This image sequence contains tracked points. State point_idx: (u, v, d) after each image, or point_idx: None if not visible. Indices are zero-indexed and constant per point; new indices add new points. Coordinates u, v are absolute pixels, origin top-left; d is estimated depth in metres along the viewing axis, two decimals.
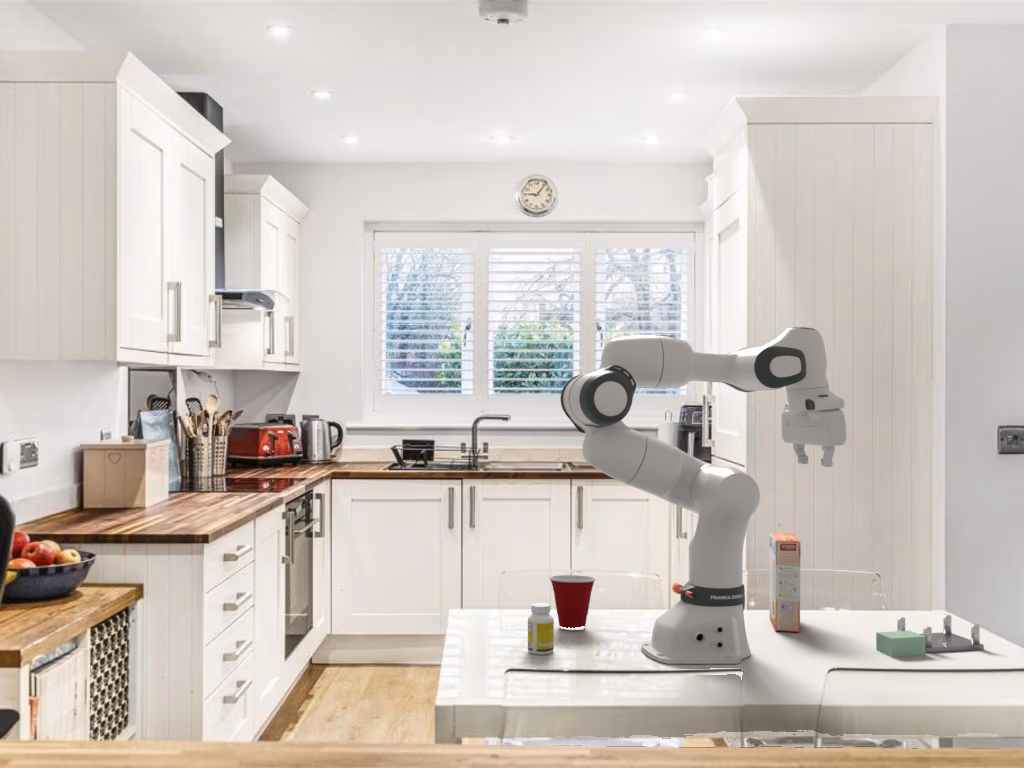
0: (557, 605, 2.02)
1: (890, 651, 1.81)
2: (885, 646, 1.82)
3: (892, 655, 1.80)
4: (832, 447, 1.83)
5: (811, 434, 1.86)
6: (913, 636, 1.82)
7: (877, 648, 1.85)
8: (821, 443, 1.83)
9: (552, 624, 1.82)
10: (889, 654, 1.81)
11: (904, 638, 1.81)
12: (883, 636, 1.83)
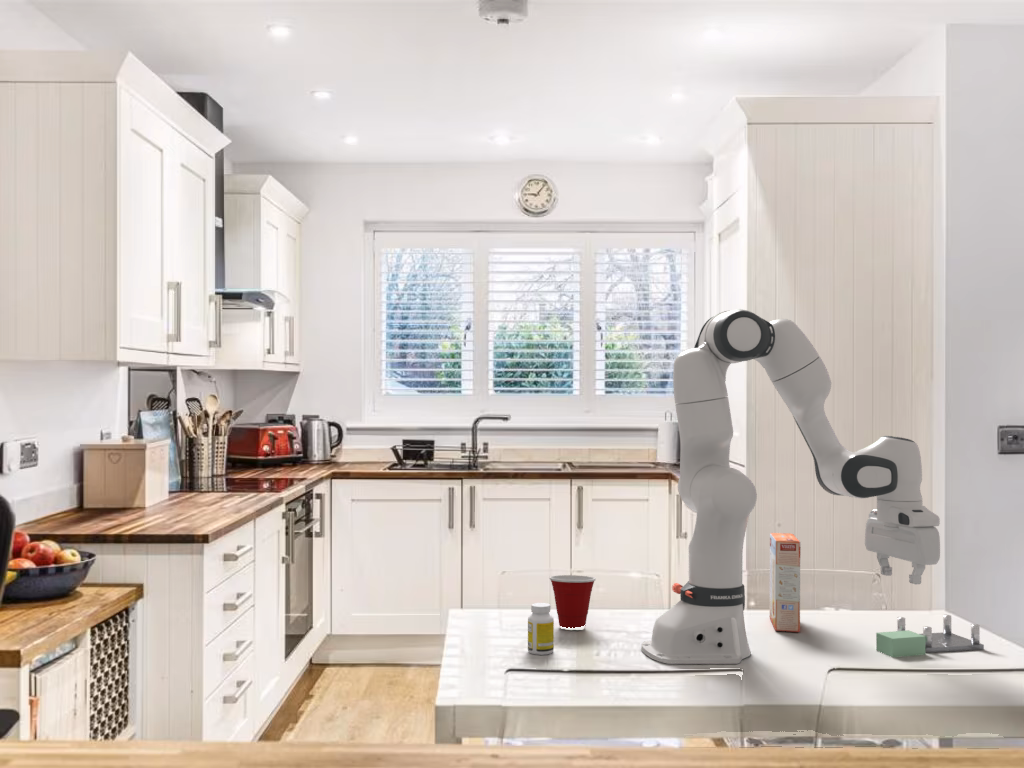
0: (557, 605, 2.02)
1: (891, 651, 1.80)
2: (885, 646, 1.82)
3: (893, 655, 1.80)
4: (923, 565, 1.78)
5: (900, 548, 1.81)
6: (913, 636, 1.82)
7: (878, 648, 1.84)
8: (912, 560, 1.78)
9: (552, 624, 1.82)
10: (890, 654, 1.81)
11: (905, 638, 1.81)
12: (883, 636, 1.83)
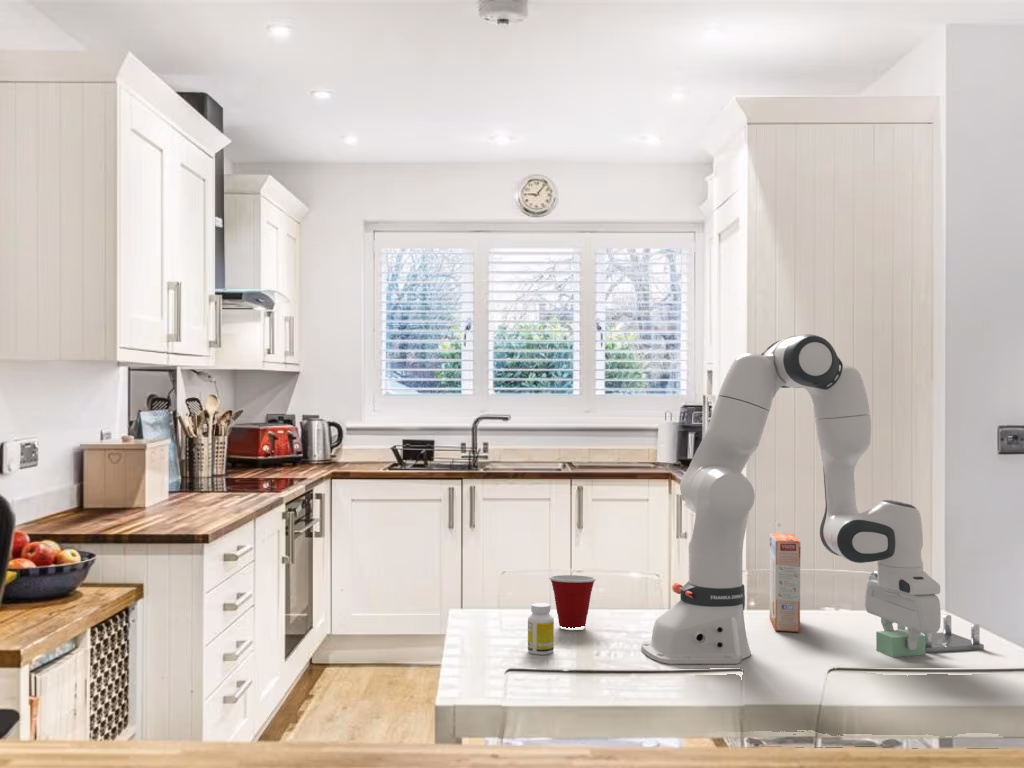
0: (557, 605, 2.02)
1: (891, 650, 1.80)
2: (885, 645, 1.82)
3: (893, 654, 1.80)
4: None
5: (901, 614, 1.81)
6: None
7: (878, 647, 1.85)
8: (912, 627, 1.77)
9: (552, 624, 1.82)
10: (890, 653, 1.81)
11: (905, 637, 1.81)
12: (884, 635, 1.83)
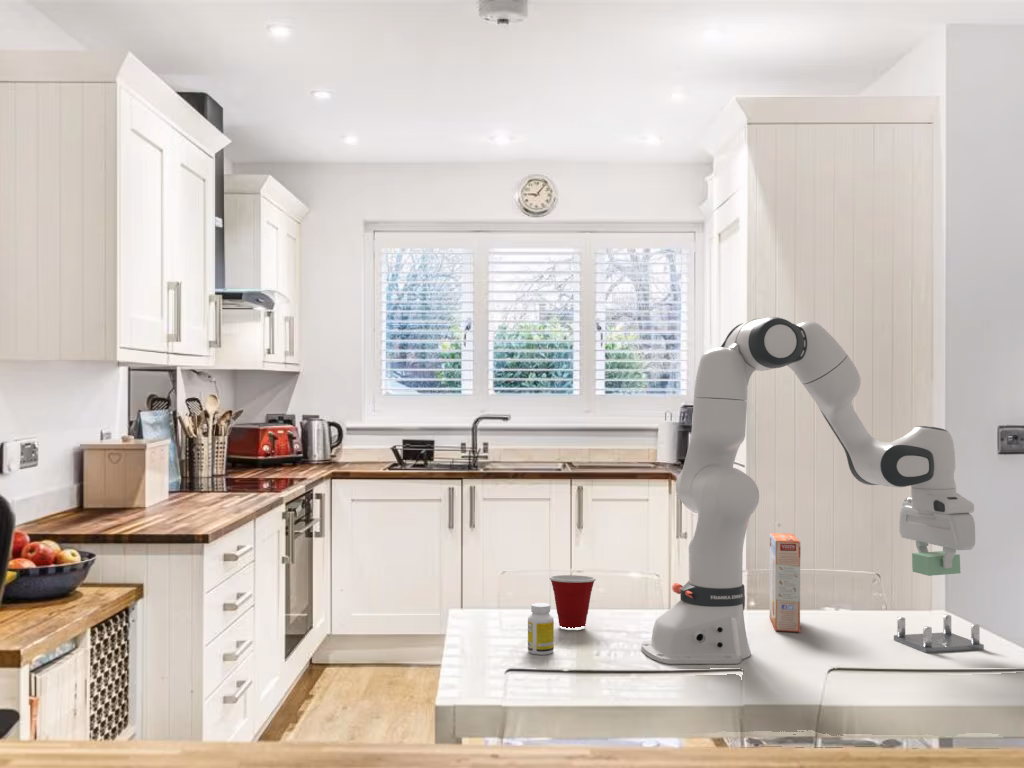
0: (557, 605, 2.02)
1: (927, 569, 1.86)
2: (921, 565, 1.88)
3: (929, 573, 1.86)
4: (953, 549, 1.85)
5: (936, 534, 1.87)
6: None
7: (914, 568, 1.91)
8: (948, 545, 1.83)
9: (552, 624, 1.82)
10: (926, 572, 1.87)
11: (940, 556, 1.87)
12: (919, 556, 1.89)
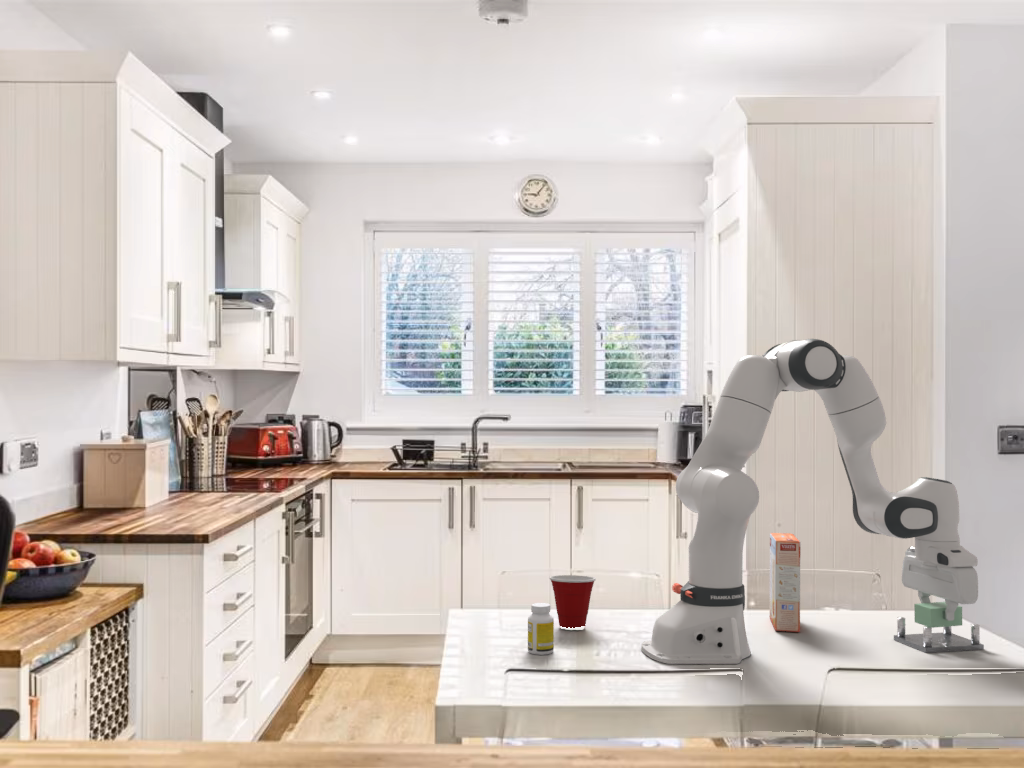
0: (557, 605, 2.02)
1: (929, 621, 1.87)
2: (924, 616, 1.89)
3: (931, 625, 1.87)
4: (956, 602, 1.85)
5: (939, 586, 1.87)
6: None
7: (916, 619, 1.91)
8: (951, 598, 1.84)
9: (552, 624, 1.82)
10: (929, 623, 1.87)
11: (942, 608, 1.88)
12: (922, 607, 1.89)
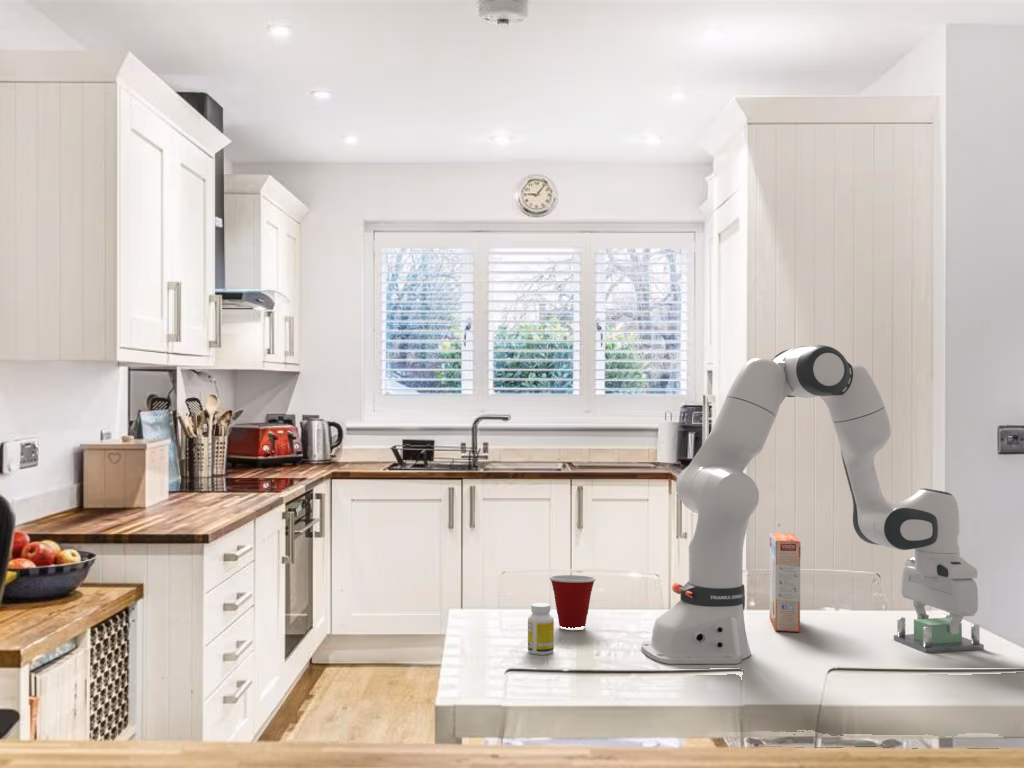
0: (557, 605, 2.02)
1: None
2: None
3: None
4: (960, 615, 1.84)
5: (938, 598, 1.87)
6: None
7: (915, 635, 1.91)
8: (950, 610, 1.84)
9: (552, 624, 1.82)
10: None
11: (942, 625, 1.88)
12: (921, 623, 1.89)
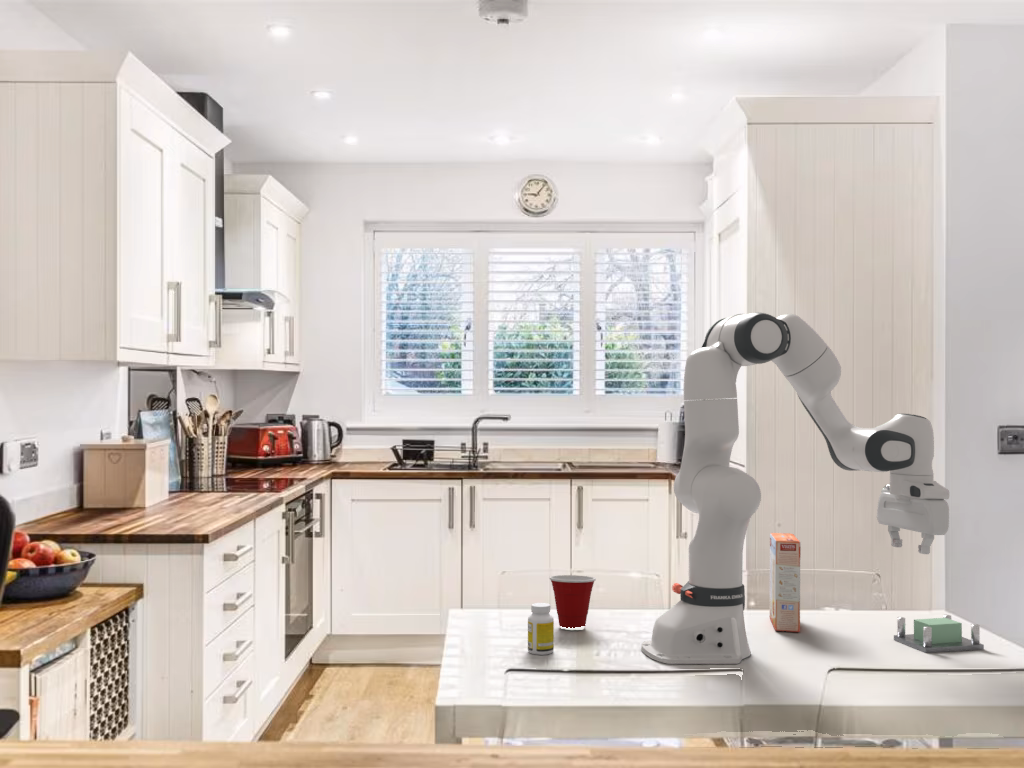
0: (557, 605, 2.02)
1: None
2: None
3: None
4: (932, 535, 1.87)
5: (911, 519, 1.91)
6: (950, 623, 1.89)
7: (915, 635, 1.91)
8: (922, 530, 1.87)
9: (552, 624, 1.82)
10: None
11: (942, 625, 1.88)
12: (921, 623, 1.89)
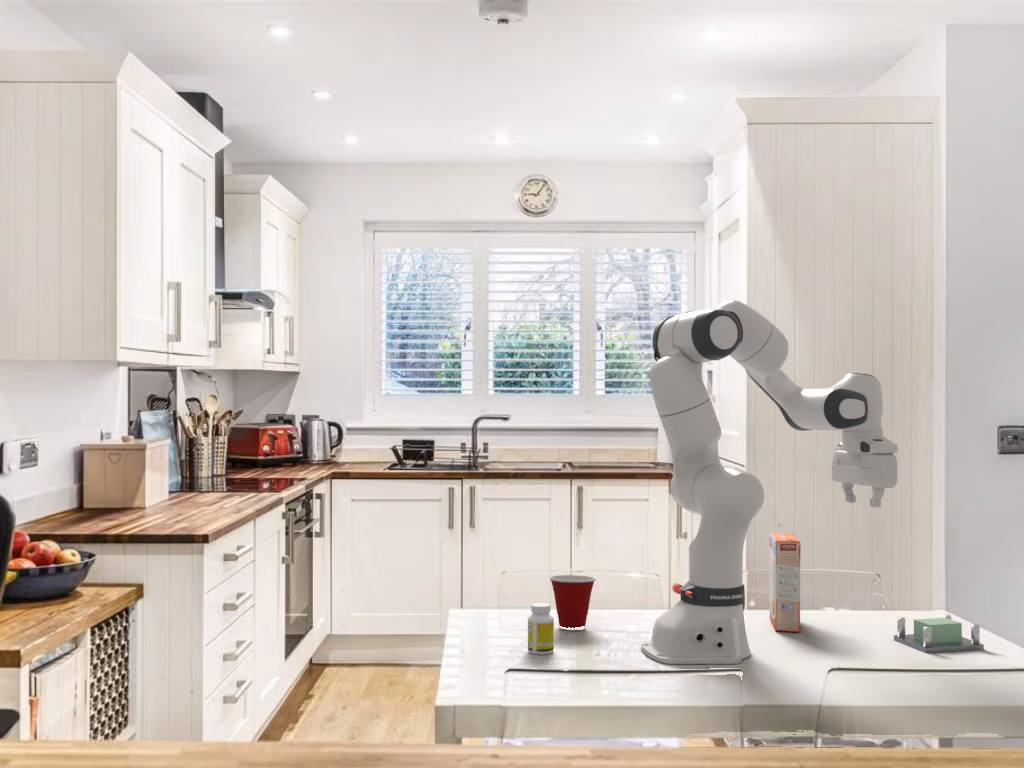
0: (557, 605, 2.02)
1: None
2: None
3: None
4: (882, 489, 1.94)
5: (862, 474, 1.98)
6: (950, 623, 1.89)
7: (915, 635, 1.91)
8: (872, 484, 1.94)
9: (552, 624, 1.82)
10: None
11: (942, 625, 1.88)
12: (921, 623, 1.89)
